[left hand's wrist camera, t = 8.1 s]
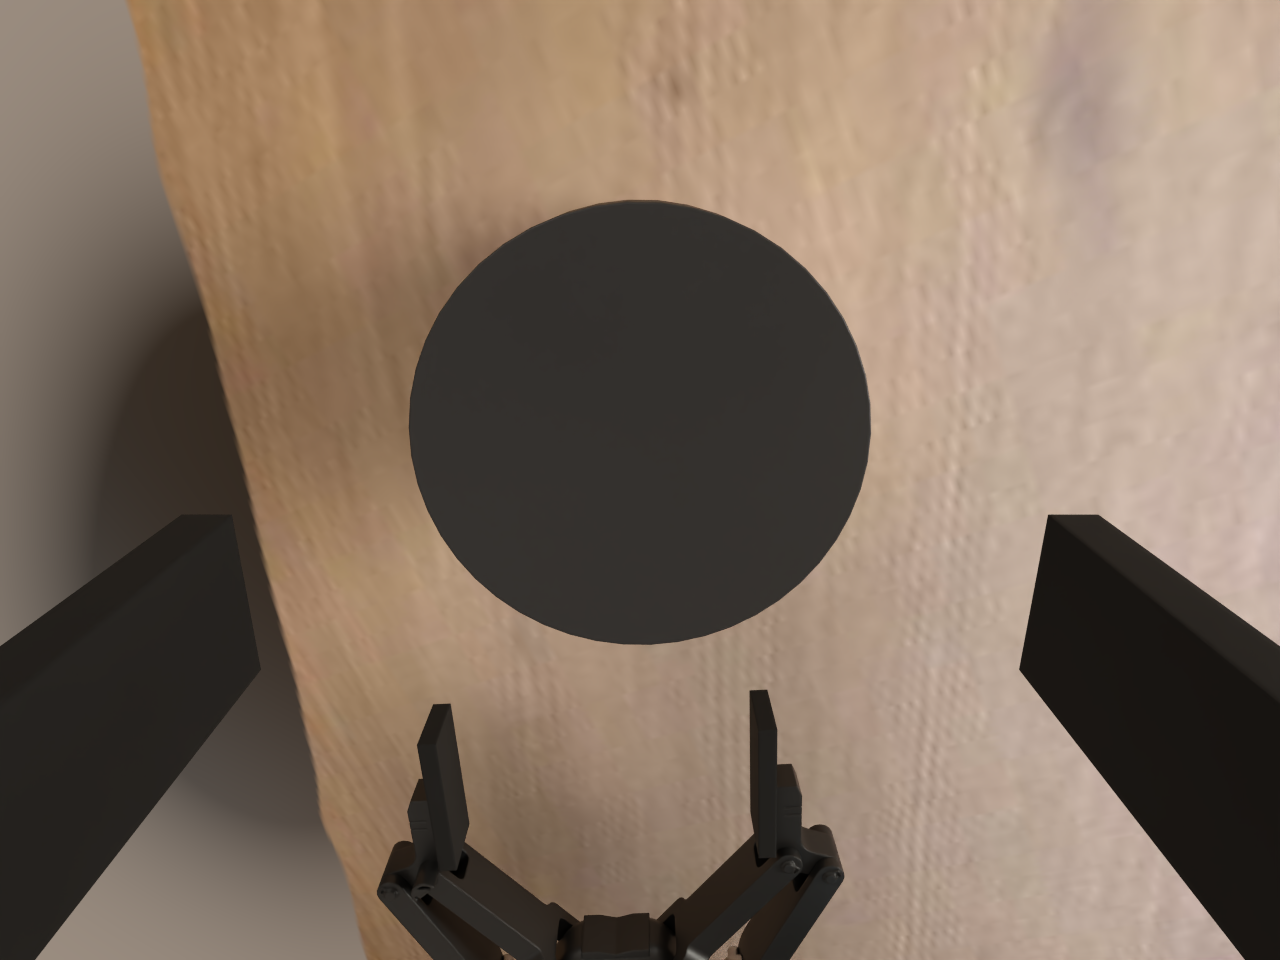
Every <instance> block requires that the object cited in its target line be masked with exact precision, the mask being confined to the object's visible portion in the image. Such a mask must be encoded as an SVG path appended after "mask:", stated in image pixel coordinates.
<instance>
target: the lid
mask: <svg viewBox="0 0 1280 960" xmlns="http://www.w3.org/2000/svg"><path fill="white" fill-rule="evenodd" d="M409 435H410V446H411V457H412V461H413V466H414V470H415V474H416V479H417V483H418V486H419V489H420V492H421V494H422V497H423V500H424V502H425V505H426V508H427V510H428V512H429V514H430V516H431V518H432V520H433V522H434V524H435V526H436V527H437V529H438V531H439V533H440V535H441V537H442V538H443V539H444V541H445V542H446V544H447V545H448V547H449V548H450V549H451V551H452V552H453V554H454V555H455V557H456V558H457V559H458V560H459V561H460V562H461V564H462V565H463V566H464V567H465V568H466V569H467V570H468V571H469V572H470V573H471V575H472V576H473V577H474V578H475V579H476V580H477V581H478V582H480V583H481V584H482V585H483V586H484V587H485V588H487V589H488V590H489V591H490V592H491V593H492V594H494V595H495V596H496V597H497V598H499V599H500V600H502V601H503V602H505V603H506V604H508V605H509V606H511V607H512V608H514V609H515V610H517V611H518V612H520V613H522V614H524V615H526V616H528V617H530V618H532V619H534V620H535V621H537V622H539V623H541V624H543V625H546V626H548V627H551V628H554V629H557V630H559V631H562V632H565V633H567V634H570V635H574V636H578V637H583V638H587V639H591V640H595V641H601V642H609V643H617V644H641V645H652V644H662V643H671V642H680V641H684V640H689V639H693V638H698V637H702V636H706V635H709V634H712V633H715V632H718V631H721V630H724V629H727V628H729V627H732V626H734V625H736V624H738V623H740V622H742V621H744V620H746V619H749V618H751V617H753V616H755V615H757V614H758V613H760V612H761V611H763V610H764V609H766V608H768V607H769V606H771V605H772V604H774V603H776V602H777V601H779V600H780V599H781V598H782V597H784V596H785V595H786V594H787V593H789V592H790V591H791V590H792V589H793V588H795V587H796V586H797V585H798V584H800V583H801V582H802V581H803V580H804V578H805V577H806V576H807V575H808V574H809V573H810V572H811V571H812V570H813V569H814V568H815V567H816V566H817V565H818V564H819V563H820V561H821V560H822V559H823V557H824V556H825V555H826V553H827V552H828V551H829V549H830V548H831V547H832V545H833V544H834V543H835V541H836V540H837V538H838V536H839V534H840V533H841V531H842V529H843V527H844V526H845V524H846V522H847V520H848V518H849V517H850V514H851V512H852V510H853V507H854V505H855V502H856V500H857V497H858V495H859V492H860V490H861V486H862V482H863V478H864V474H865V470H866V466H867V462H868V454H869V446H870V437H871V412H870V399H869V393H868V386H867V380H866V374H865V371H864V368H863V365H862V361H861V358H860V355H859V352H858V348H857V345H856V343H855V341H854V339H853V337H852V335H851V333H850V331H849V328H848V326H847V324H846V322H845V320H844V318H843V316H842V315H841V313H840V312H839V310H838V309H837V307H836V306H835V304H834V303H833V301H832V300H831V298H830V297H829V295H828V294H827V292H826V291H825V290H824V289H823V288H822V286H821V285H820V284H819V283H818V282H817V281H816V280H815V278H814V277H813V276H812V275H811V274H810V273H809V272H808V271H807V269H806V268H804V267H803V266H802V265H801V264H800V263H799V262H797V261H796V260H795V259H794V258H793V257H792V256H790V255H789V254H788V253H787V252H786V251H785V250H783V249H782V248H781V247H779V246H778V245H776V244H775V243H773V242H772V241H770V240H768V239H767V238H765V237H764V236H762V235H761V234H759V233H758V232H756V231H754V230H752V229H750V228H748V227H746V226H744V225H741V224H739V223H737V222H735V221H733V220H730V219H728V218H726V217H724V216H721V215H719V214H716V213H713V212H710V211H707V210H703V209H700V208H696V207H693V206H690V205H685V204H679V203H672V202H666V201H659V200H623V201H615V202H607V203H599V204H595V205H591V206H587V207H584V208H580V209H576V210H573V211H569V212H567V213H564V214H562V215H559V216H557V217H555V218H552V219H550V220H548V221H545V222H543V223H541V224H538V225H536V226H534V227H531V228H530V229H528V230H526V231H525V232H523V233H521V234H520V235H518V236H516V237H515V238H513V239H511V240H510V241H508V242H506V243H505V244H503V245H502V246H501V247H499V248H498V249H497V250H496V251H494V252H493V253H492V254H491V255H490V256H488V257H487V258H486V259H485V260H483V261H482V262H481V263H480V264H478V266H477V267H476V268H475V269H474V270H473V271H472V272H471V273H470V274H469V275H468V276H467V277H466V278H465V280H464V281H463V282H462V283H461V284H460V285H459V286H458V287H457V288H456V290H455V291H454V293H453V294H452V295H451V297H450V298H449V300H448V301H447V303H446V304H445V306H444V307H443V308H442V310H441V311H440V313H439V315H438V317H437V319H436V321H435V322H434V324H433V326H432V328H431V330H430V332H429V334H428V336H427V338H426V340H425V343H424V346H423V349H422V352H421V355H420V358H419V361H418V364H417V367H416V370H415V376H414V381H413V386H412V391H411V397H410V413H409Z"/></svg>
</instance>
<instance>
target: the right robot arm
mask: <svg viewBox="0 0 1280 960" xmlns="http://www.w3.org/2000/svg"><path fill="white" fill-rule="evenodd" d="M417 748H418V754H419V759H420V765H421V771H422V776H423V779H419V780H418V783H417V785H416V788H415V791H414V793H413V796H412V799H411V801H410V805H409V808H408V811H407V812H408V818H409V822H410V828H411V834H412V839H413V843H411V842H409V841H401V842H398V843H396V844H395V845H394V847H393V849H392V852H391V855H390V857H389V860H388V863H387V865H386V868H385V871H384V873H383V876H382V879H381V882H380V884H379V887H378V890H377V895H378V897H379V899H380V900H381V901H382V902H383V903H384V904H385V906H386V907H387V908H388V909H389V910H390V911H391V912H392V914H393V915H394V916H395V917H396V918H397V919H398V920H399V921H400V923H401V924H402V925H403V926H404V927H405V928H406V929H407V930H408V932H409V933H410V934H411V935H412V936H413V937H414V938H415V939H416V941H417V942H418V943H419V944H420V945H421V946H422V947H423V948H424V950H425V951H426V952H427V953H428V954H429V955H430V956H431V957H432V959H433V960H514V958H515V959H516V960H709V958H710V956H711V955H712V954H713V953H714V952H715V951H716V950H718V949H719V948H720V947H721V946H722V945H723V944H724V943H725V942H726V941H727V940H728V939H729V938H730V937H731V936H733V935H734V934H735V933H736V932H737V931H738V930H739V929H740V928H741V927H742V926H743V925H744V924H745V923H747V922H748V921H749V920H750V921H749V923H748V924H747V926H746V927H745V929H744V931H743V933H742V935H741V938H740V941H739V945H738V947H736V946H732V947H730V948H729V949H728V957H726V958H725V959H724V960H790V958H791V957H792V955H793V954H794V952H795V951H796V950H797V948H798V947H799V945H800V944H801V942H802V941H803V939H804V938H805V936H806V935H807V933H808V932H809V930H810V929H811V927H812V926H813V924H814V923H815V921H816V920H817V919H818V917H819V916H820V914H821V913H822V911H823V910H824V908H825V907H826V905H827V904H828V902H829V901H830V899H831V898H832V896H833V895H834V893H835V892H836V890H837V889H838V888H839V886H840V885H841V883H842V882H843V879H844V872H843V869H842V865H841V862H840V858H839V855H838V852H837V848H836V845H835V841H834V838H833V835H832V831H831V830H830V828H829V827H827V826H825V825H814V826H812V827H810V828H809V829H807V828H804V827H802V826H801V818H802V815H801V814H802V794H801V790H800V787H799V783H798V779H797V775H796V772H795V770H794V768H793V766H792V764H779V765H777V727H776V723H775V719H774V715H773V711H772V707H771V703H770V699H769V695H768V691H767V690H750V812H751V818H752V823H753V829H754V834H753V835H752V836H751V837H750V838H749V839H748V840H747V841H746V842H745V843H744V844H743V845H742V846H741V847H740V848H739V849H738V850H737V851H736V852H735V853H734V854H733V855H732V856H731V857H730V858H729V859H728V860H727V861H726V862H725V863H724V864H723V865H722V866H721V867H720V868H719V869H718V870H717V871H715V872H714V873H713V874H712V875H711V876H710V877H709V878H708V879H707V880H706V881H705V882H704V883H703V884H702V885H701V886H700V887H699V888H698V889H697V890H696V891H695V892H694V893H693V894H692V895H691V896H690V897H689V898H688V899H684V898H679V899H677V900H676V901H675V902H674V903H673V904H672V905H671V906H670V907H669V908H668V909H667V910H666V911H665V912H664V913H663V914H662V915H661V916H660V917H659V918H658V919H657V920H655V919H652V918H649V913H637V914H630V915H626V916H622V917H610V916H604V915H585V916H584V921H581V922H579V921H578V920H577V919H575V918H574V917H573V916H572V915H570V914H569V913H568V912H566V911H565V910H564V909H563V908H561V907H560V906H559V905H557V904H556V903H554V902H551V903H550V904H548V905H546V904H544V903H543V902H541V901H540V900H539V899H537V898H536V897H535V896H534V895H532V894H531V893H530V892H528V891H527V890H526V889H525V888H523V887H522V886H521V885H519V884H518V883H517V882H515V881H514V880H513V879H512V878H510V877H509V876H508V875H506V874H505V873H504V872H503V871H501V870H500V869H499V868H497V867H496V866H495V865H494V864H492V863H491V862H490V861H488V860H487V859H486V858H485V857H483V856H482V855H481V854H479V853H478V852H477V851H475V850H474V849H473V848H472V847H470V846H469V845H468V844H466V843H465V838H466V834H467V830H468V827H469V818H468V812H467V805H466V799H465V793H464V786H463V780H462V773H461V767H460V761H459V754H458V748H457V742H456V735H455V729H454V722H453V716H452V710H451V704H433V706H432V709H431V711H430V714H429V716H428V719H427V721H426V724H425V726H424V729H423V731H422V734H421V736H420V739H419V741H418V744H417ZM557 940H558V941H559V942H558V943H557ZM500 948H502V949H503V950H504V951H506V952H507V953H508V954H505V955H503V954H502V952H501V949H500ZM513 957H514V958H513Z"/></svg>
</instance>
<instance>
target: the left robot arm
mask: <svg viewBox="0 0 1280 960" xmlns="http://www.w3.org/2000/svg"><path fill="white" fill-rule="evenodd" d="M260 670H261V668H260V663H259V657H258V652H257V647H256V642H255V636H254V631H253V625H252V620H251V615H250V609H249V604H248V599H247V593H246V588H245V583H244V577H243V572H242V567H241V561H240V556H239V551H238V545H237V540H236V535H235V529H234V524H233V519H232V515H181V516H179V517H178V518H176V519H175V520H174V521H172V522H171V523H170V524H168V525H167V526H165V527H164V528H163V529H161V530H160V531H159V532H157V533H156V534H154V535H153V536H152V537H150V538H149V539H148V540H146V541H145V542H143V543H142V544H141V545H139V546H138V547H137V548H135V549H134V550H132V551H131V552H130V553H128V554H127V555H125V556H124V557H123V558H121V559H120V560H119V561H117V562H116V563H114V564H113V565H112V566H110V567H109V568H108V569H106V570H105V571H103V572H102V573H101V574H99V575H98V576H97V577H95V578H94V579H92V580H91V581H90V582H88V583H87V584H86V585H84V586H83V587H81V588H80V589H79V590H77V591H76V592H75V593H73V594H72V595H70V596H69V597H68V598H66V599H65V600H63V601H62V602H61V603H59V604H58V605H57V606H55V607H54V608H52V609H51V610H50V611H48V612H47V613H46V614H44V615H43V616H41V617H40V618H39V619H37V620H36V621H34V622H33V623H32V624H30V625H29V626H28V627H26V628H25V629H23V630H22V631H21V632H19V633H18V634H17V635H15V636H14V637H12V638H11V639H10V640H8V641H7V642H6V643H4V644H3V645H1V646H0V960H35V959H36V958H37V956H38V955H39V954H40V953H41V951H42V950H43V949H44V948H45V946H46V945H47V944H48V942H49V941H50V940H51V939H52V937H53V936H54V935H55V933H56V932H57V931H58V930H59V928H60V927H61V926H62V924H63V923H64V922H65V921H66V919H67V918H68V917H69V915H70V914H71V913H72V911H73V910H74V909H75V908H76V906H77V905H78V904H79V903H80V901H81V900H82V899H83V897H84V896H85V895H86V894H87V892H88V891H89V890H90V888H91V887H92V886H93V885H94V883H95V882H96V881H97V879H98V878H99V877H100V876H101V874H102V873H103V872H104V870H105V869H106V868H107V867H108V865H109V864H110V863H111V861H112V860H113V859H114V858H115V856H116V855H117V854H118V852H119V851H120V850H121V849H122V847H123V846H124V845H125V843H126V842H127V841H128V840H129V838H130V837H131V836H132V834H133V833H134V832H135V831H136V829H137V828H138V827H139V825H140V824H141V823H142V822H143V820H144V819H145V818H146V817H147V815H148V814H149V813H150V811H151V810H152V809H153V808H154V806H155V805H156V804H157V802H158V801H159V800H160V798H161V797H162V796H163V795H164V793H165V792H166V791H167V789H168V788H169V787H170V786H171V784H172V783H173V782H174V781H175V779H176V778H177V777H178V775H179V774H180V773H181V772H182V770H183V769H184V768H185V766H186V765H187V764H188V762H189V761H190V760H191V759H192V757H193V756H194V755H195V754H196V752H197V751H198V750H199V748H200V747H201V746H202V745H203V743H204V742H205V741H206V739H207V738H208V737H209V735H210V734H211V733H212V732H213V730H214V729H215V728H216V727H217V725H218V724H219V723H220V721H221V720H222V719H223V718H224V716H225V715H226V714H227V712H228V711H229V710H230V709H231V707H232V706H233V705H234V703H235V702H236V701H237V700H238V698H239V697H240V696H241V694H242V693H243V692H244V691H245V689H246V688H247V687H248V685H249V684H250V683H251V682H252V680H253V679H254V678H255V676H256V675H257V674H258V673H259V671H260ZM1019 670H1020V671H1021V673H1022V674H1023V675H1024V676H1025V678H1026V679H1027V680H1028V682H1029V683H1030V684H1031V685H1032V687H1033V688H1034V689H1035V691H1036V692H1037V693H1038V694H1039V696H1040V697H1041V698H1042V700H1043V701H1044V702H1045V703H1046V705H1047V706H1048V707H1049V709H1050V710H1051V711H1052V712H1053V714H1054V715H1055V716H1056V718H1057V719H1058V720H1059V721H1060V723H1061V724H1062V725H1063V727H1064V728H1065V729H1066V730H1067V732H1068V733H1069V734H1070V736H1071V737H1072V738H1073V739H1074V741H1075V742H1076V743H1077V745H1078V746H1079V747H1080V748H1081V750H1082V751H1083V752H1084V754H1085V755H1086V756H1087V757H1088V759H1089V760H1090V761H1091V763H1092V764H1093V765H1094V766H1095V768H1096V769H1097V770H1098V772H1099V773H1100V774H1101V775H1102V777H1103V778H1104V779H1105V781H1106V782H1107V783H1108V784H1109V786H1110V787H1111V788H1112V790H1113V791H1114V792H1115V793H1116V795H1117V796H1118V797H1119V799H1120V800H1121V801H1122V802H1123V804H1124V805H1125V806H1126V808H1127V809H1128V810H1129V811H1130V813H1131V814H1132V815H1133V817H1134V818H1135V819H1136V820H1137V822H1138V823H1139V824H1140V825H1141V827H1142V828H1143V829H1144V831H1145V832H1146V833H1147V834H1148V836H1149V837H1150V838H1151V840H1152V841H1153V842H1154V843H1155V845H1156V846H1157V847H1158V849H1159V850H1160V851H1161V852H1162V854H1163V855H1164V856H1165V858H1166V859H1167V860H1168V861H1169V863H1170V864H1171V865H1172V867H1173V868H1174V869H1175V870H1176V872H1177V873H1178V874H1179V876H1180V877H1181V878H1182V879H1183V881H1184V882H1185V883H1186V885H1187V886H1188V887H1189V888H1190V890H1191V891H1192V892H1193V894H1194V895H1195V896H1196V897H1197V899H1198V900H1199V901H1200V903H1201V904H1202V905H1203V906H1204V908H1205V909H1206V910H1207V912H1208V913H1209V914H1210V915H1211V917H1212V918H1213V919H1214V921H1215V922H1216V923H1217V924H1218V926H1219V927H1220V928H1221V930H1222V931H1223V932H1224V933H1225V935H1226V936H1227V937H1228V939H1229V940H1230V941H1231V942H1232V944H1233V945H1234V946H1235V948H1236V949H1237V950H1238V951H1239V953H1240V954H1241V955H1242V957H1243V958H1244V959H1245V960H1280V646H1279V645H1277V644H1276V643H1274V642H1273V641H1272V640H1270V639H1269V638H1268V637H1266V636H1265V635H1263V634H1262V633H1261V632H1259V631H1258V630H1257V629H1255V628H1254V627H1252V626H1251V625H1250V624H1248V623H1247V622H1246V621H1244V620H1243V619H1241V618H1240V617H1239V616H1237V615H1236V614H1235V613H1233V612H1232V611H1230V610H1229V609H1228V608H1226V607H1225V606H1223V605H1222V604H1221V603H1219V602H1218V601H1217V600H1215V599H1214V598H1212V597H1211V596H1210V595H1208V594H1207V593H1206V592H1204V591H1203V590H1201V589H1200V588H1199V587H1197V586H1196V585H1195V584H1193V583H1192V582H1190V581H1189V580H1188V579H1186V578H1185V577H1183V576H1182V575H1181V574H1179V573H1178V572H1177V571H1175V570H1174V569H1172V568H1171V567H1170V566H1168V565H1167V564H1166V563H1164V562H1163V561H1161V560H1160V559H1159V558H1157V557H1156V556H1155V555H1153V554H1152V553H1150V552H1149V551H1148V550H1146V549H1145V548H1143V547H1142V546H1141V545H1139V544H1138V543H1137V542H1135V541H1134V540H1132V539H1131V538H1130V537H1128V536H1127V535H1126V534H1124V533H1123V532H1121V531H1120V530H1119V529H1117V528H1116V527H1115V526H1113V525H1112V524H1110V523H1109V522H1108V521H1106V520H1105V519H1104V518H1102V517H1101V516H1099V515H1048V518H1047V524H1046V529H1045V534H1044V540H1043V545H1042V550H1041V556H1040V561H1039V567H1038V572H1037V577H1036V583H1035V588H1034V593H1033V599H1032V604H1031V609H1030V615H1029V620H1028V625H1027V631H1026V636H1025V641H1024V647H1023V652H1022V657H1021V663H1020V668H1019Z"/></svg>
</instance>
